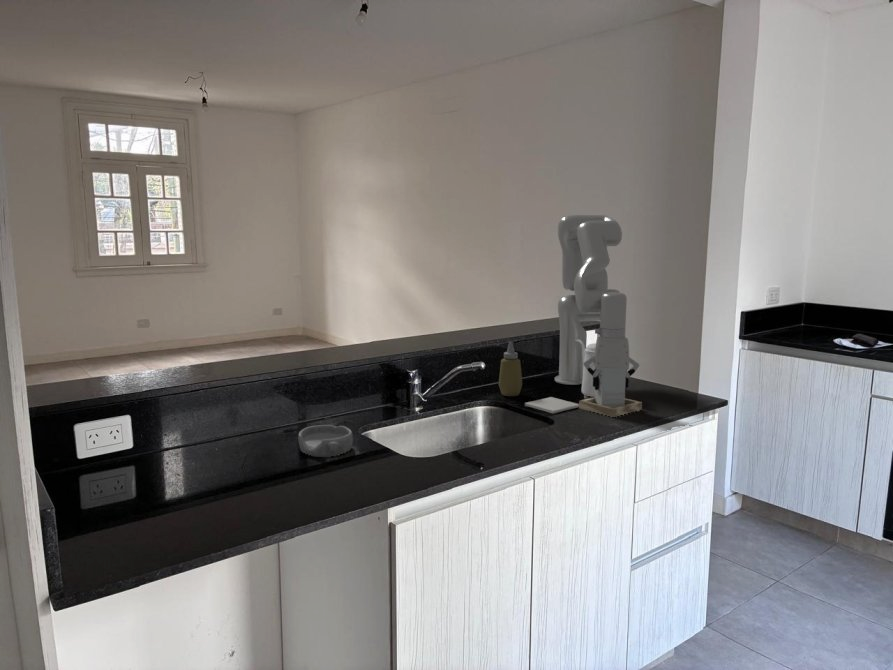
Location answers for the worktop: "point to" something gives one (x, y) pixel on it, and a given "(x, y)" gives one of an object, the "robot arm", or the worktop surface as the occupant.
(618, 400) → the supplement box
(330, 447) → the dish
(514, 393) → the squeeze bottle
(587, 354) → the coffeepot
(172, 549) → the worktop surface
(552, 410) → the tile
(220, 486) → the worktop surface
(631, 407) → the wooden frame
